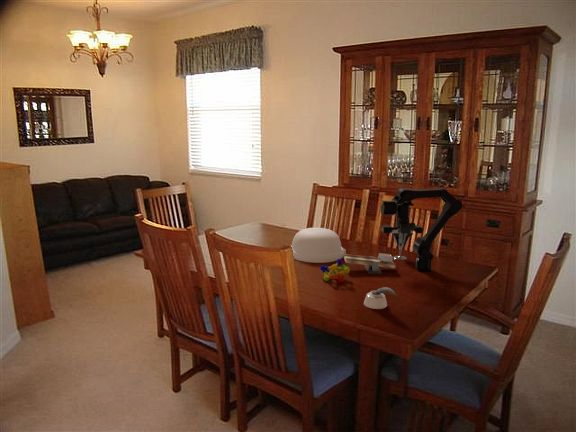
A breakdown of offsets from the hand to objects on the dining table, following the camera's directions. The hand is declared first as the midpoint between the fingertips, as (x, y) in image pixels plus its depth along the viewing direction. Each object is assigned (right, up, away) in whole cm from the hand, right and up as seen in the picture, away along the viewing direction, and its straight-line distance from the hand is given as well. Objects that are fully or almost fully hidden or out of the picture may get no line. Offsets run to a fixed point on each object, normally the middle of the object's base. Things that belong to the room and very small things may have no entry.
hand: (400, 246), depth 221 cm
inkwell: (-18, -22, -43) cm, 51 cm away
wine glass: (+5, -8, +22) cm, 24 cm away
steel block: (-7, -8, +2) cm, 11 cm away
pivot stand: (-13, -12, +2) cm, 18 cm away
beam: (-15, -9, +2) cm, 18 cm away
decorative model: (-33, -15, -11) cm, 38 cm away
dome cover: (-39, -7, +28) cm, 49 cm away
